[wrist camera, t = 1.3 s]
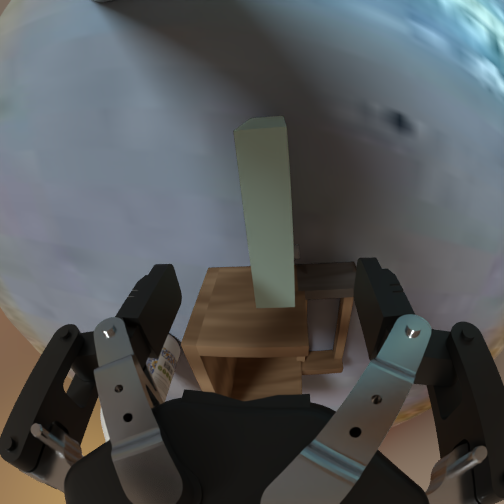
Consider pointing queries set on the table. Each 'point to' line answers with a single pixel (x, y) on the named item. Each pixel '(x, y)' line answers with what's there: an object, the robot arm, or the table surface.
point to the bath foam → (159, 371)
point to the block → (267, 209)
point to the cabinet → (263, 332)
